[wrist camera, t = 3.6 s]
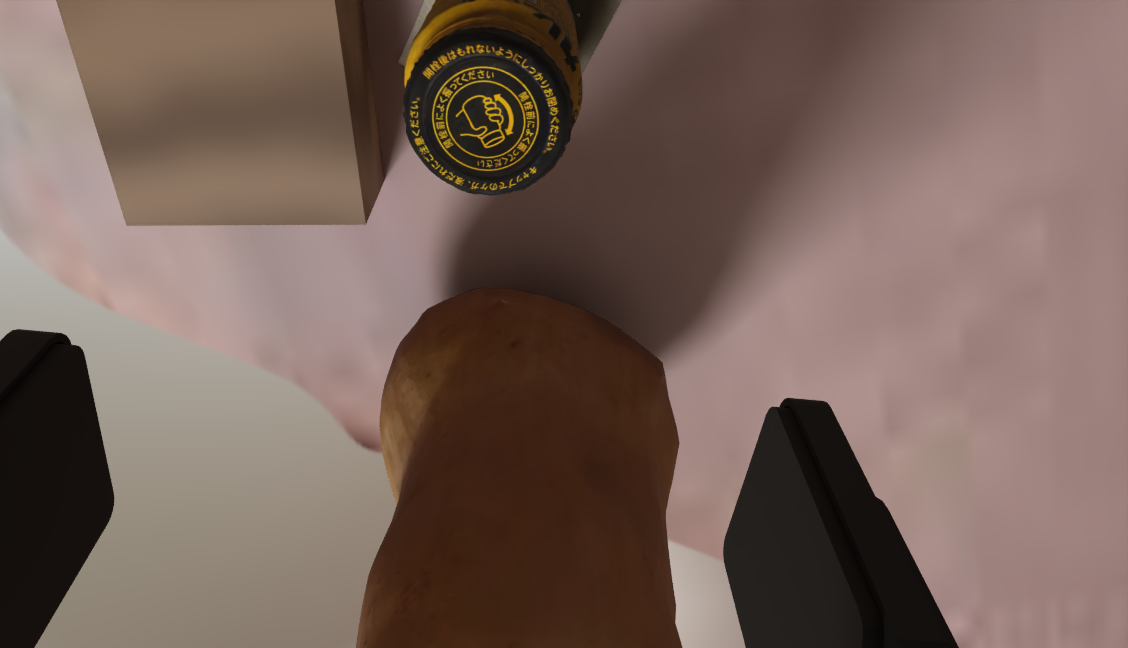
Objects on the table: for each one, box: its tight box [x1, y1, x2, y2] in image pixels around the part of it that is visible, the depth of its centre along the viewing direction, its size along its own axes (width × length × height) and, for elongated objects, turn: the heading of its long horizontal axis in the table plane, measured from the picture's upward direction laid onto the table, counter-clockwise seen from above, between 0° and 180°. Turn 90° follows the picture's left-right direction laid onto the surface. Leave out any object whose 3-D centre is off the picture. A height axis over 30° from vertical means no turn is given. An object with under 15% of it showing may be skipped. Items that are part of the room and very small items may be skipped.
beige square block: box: [56, 0, 384, 226], centre depth 34 cm, size 10×10×5 cm
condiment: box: [398, 0, 621, 195], centre depth 30 cm, size 7×8×12 cm
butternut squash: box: [356, 288, 682, 648], centre depth 33 cm, size 14×13×25 cm
